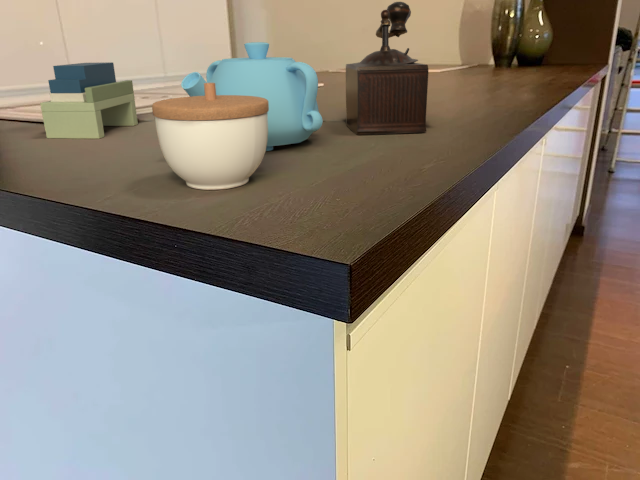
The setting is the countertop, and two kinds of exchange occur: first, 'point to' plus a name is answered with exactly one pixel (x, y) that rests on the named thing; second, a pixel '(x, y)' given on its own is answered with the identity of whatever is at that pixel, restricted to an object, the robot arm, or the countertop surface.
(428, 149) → the countertop surface
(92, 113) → the shoe shelf
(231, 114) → the white bowl with lid
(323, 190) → the countertop surface
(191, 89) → the teapot
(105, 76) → the blue block cream base
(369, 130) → the manual coffee grinder
